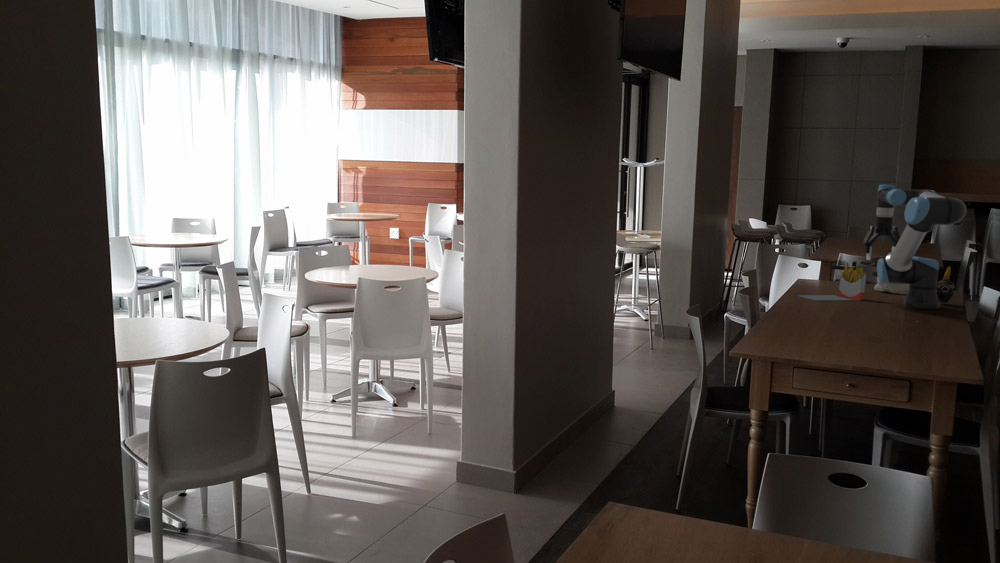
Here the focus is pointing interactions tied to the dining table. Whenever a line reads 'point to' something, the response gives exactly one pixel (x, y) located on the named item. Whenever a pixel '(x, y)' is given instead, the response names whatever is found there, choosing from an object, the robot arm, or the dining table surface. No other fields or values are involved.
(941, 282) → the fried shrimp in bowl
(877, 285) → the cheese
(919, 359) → the dining table surface
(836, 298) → the mat
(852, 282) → the french fries container
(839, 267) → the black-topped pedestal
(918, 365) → the dining table surface
